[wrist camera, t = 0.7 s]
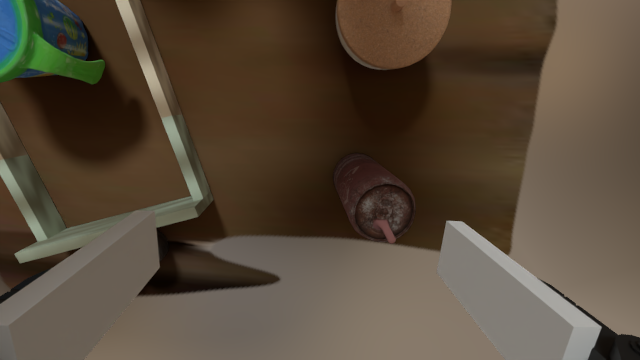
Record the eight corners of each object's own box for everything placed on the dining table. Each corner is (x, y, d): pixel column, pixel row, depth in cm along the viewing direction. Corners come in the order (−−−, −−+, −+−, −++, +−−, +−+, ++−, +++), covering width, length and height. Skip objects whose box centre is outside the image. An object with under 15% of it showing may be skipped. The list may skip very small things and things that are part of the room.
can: (346, 206, 40) (370, 259, 26) (324, 166, 38) (338, 201, 25) (386, 185, 39) (431, 228, 26) (365, 144, 38) (402, 167, 24)
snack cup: (145, 45, 33) (81, 21, 23) (100, 120, 35) (23, 128, 25) (6, -57, 30) (-137, -134, 20) (-36, 32, 32) (-187, 0, 22)
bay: (-60, 13, 31) (-141, -8, 25) (127, -36, 31) (87, -67, 25) (62, 239, 38) (20, 263, 32) (213, 199, 38) (198, 216, 33)
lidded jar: (401, 86, 36) (435, 81, 27) (318, 60, 35) (324, 45, 26) (432, -7, 34) (481, -47, 25) (345, -40, 32) (362, -95, 23)
